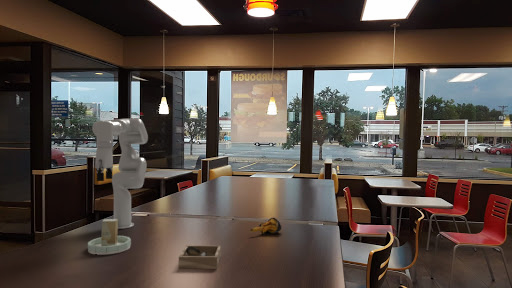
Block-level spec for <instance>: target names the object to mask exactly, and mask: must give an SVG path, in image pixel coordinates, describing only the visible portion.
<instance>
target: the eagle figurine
mask: <svg viewBox="0 0 512 288" xmlns="http://www.w3.org/2000/svg"><path fill="white" fill-rule="evenodd" d="M207 251H208V250H207ZM207 251H205V252H203V253H202V254H201V251H200V250H199V249H196V248H194V247H188V248H187V249H186V252H187V254H190V255H192V256H207V255H208V254H207Z"/></svg>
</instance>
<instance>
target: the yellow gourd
mask: <svg viewBox="0 0 512 288" xmlns="http://www.w3.org/2000/svg"><path fill="white" fill-rule="evenodd" d="M281 230H282V224H281V222H280V221H279V220H278V219H277V218H276V217H271V218H269V219H268V220H267V222H266V221H265V222H262V223H259V225H258V227H252V228H250V229H248V231H249V233H254V232H255V233H257V232H260V233H261V234H263V235H266V236H269V235H274V234H277V233H279V232H280V231H281Z"/></svg>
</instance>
